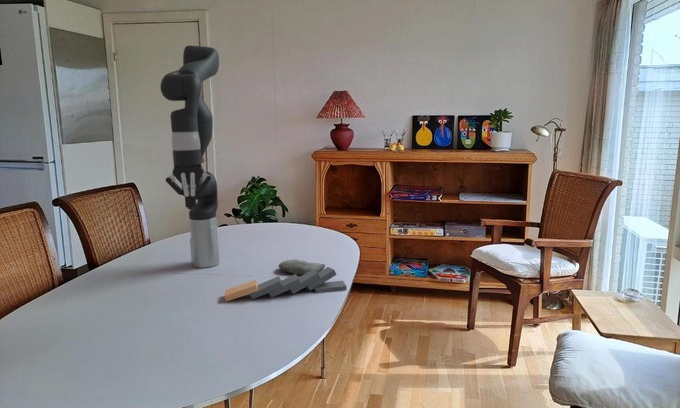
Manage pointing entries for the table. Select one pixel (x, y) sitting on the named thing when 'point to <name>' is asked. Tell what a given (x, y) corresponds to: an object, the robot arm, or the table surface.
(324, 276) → the domino
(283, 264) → the stone
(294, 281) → the domino
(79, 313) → the table surface
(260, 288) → the domino
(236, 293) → the domino
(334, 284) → the domino
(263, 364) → the table surface
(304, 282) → the domino
